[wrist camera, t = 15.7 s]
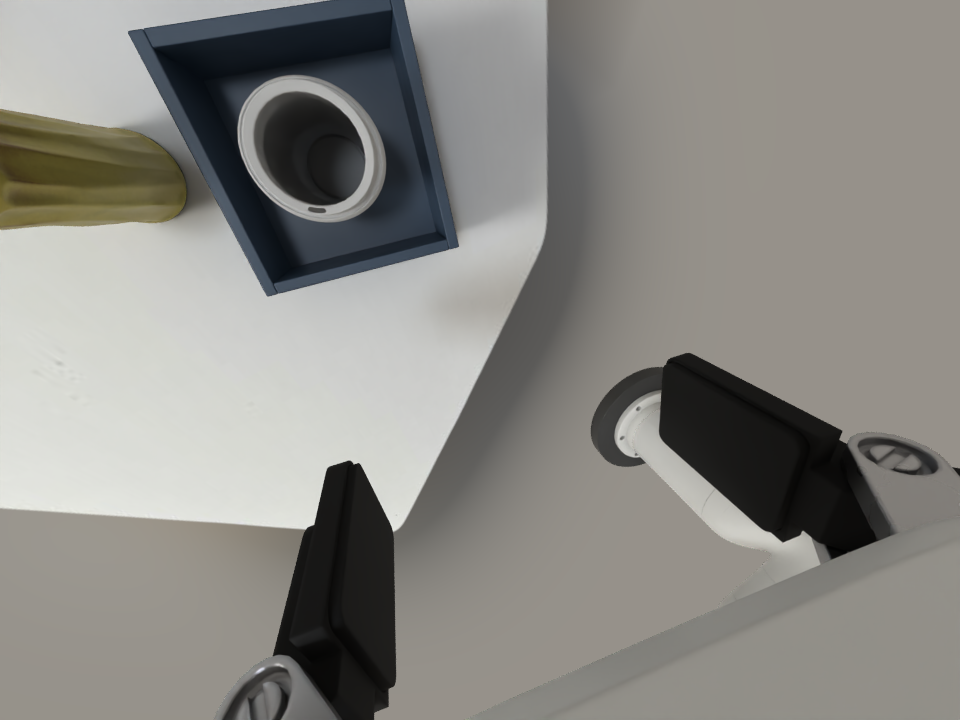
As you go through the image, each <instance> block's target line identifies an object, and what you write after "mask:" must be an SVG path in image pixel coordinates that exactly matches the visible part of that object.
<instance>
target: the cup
mask: <svg viewBox="0 0 960 720" xmlns="http://www.w3.org/2000/svg"><path fill="white" fill-rule="evenodd" d="M237 130H238V144H239V148H240V152H241V156H242V159H243V161H244V163H245V165H246V168H247V170H248V172H249V173H250V175H251V177H252V178H253V180H254V181H255V183H256V184H257V185H258V187H259V188H260V189H261V190H262V191H263V192H264V193H265V194H266V195H267V196H268V197H269V198H270V199H271V200H272V201H274V202H275V203H276V204H277V205H279V206H280V207H282V208H283V209H285V210H287V211H288V212H290V213H292V214H294V215H296V216H299V217H301V218H304V219H308V220H312V221H317V222H340V221H345V220H348V219H351V218H354V217H356V216H358V215H359V214H361V213H363V212H364V211H365V210H367V209H368V208H369V207H370V206H371V205H372V204H373V202H374V201H375V200H376V198H377V197H378V195H379V193H380V191H381V189H382V187H383V183H384V180H385V174H386V156H385V150H384V146H383V142H382V139H381V137H380V134H379V132H378V130H377V128H376V126H375V124H374V122H373V121H372V119H371V118H370V116H369V115H368V113H367V112H366V111H365V110H364V109H363V107H362V106H361V105H360V104H359V103H358V102H357V101H356V100H355V99H354V98H352V97H351V96H350V95H349V94H347V93H346V92H345V91H343V90H342V89H340V88H339V87H337V86H335V85H333V84H331V83H329V82H327V81H324V80H321V79H318V78H315V77H310V76H304V75H287V76H280V77H277V78H274V79H271V80H269V81H266V82H265V83H263V84H262V85H261V86H259V87H258V88H256V89H255V90H254V91H253V92H252V93H251V95H250V96H249V97H248V99H247V100H246V101H245V103H244V105H243V107H242V109H241V112H240V115H239V122H238V128H237Z"/></svg>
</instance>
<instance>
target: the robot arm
mask: <svg viewBox="0 0 960 720" xmlns="http://www.w3.org/2000/svg"><path fill="white" fill-rule="evenodd" d="M841 433H842V430H840V429H838V428H836V427H834V426H832V425H830V424H828V423H826V422H824V421H822V420H820V419H818V418H816V417H814V416H812V415H810V414H809V413H807V412H805V411H803V410H801V409H799V408H797V407H795V406H793V405H791V404H789V403H787V402H785V401H783V400H781V399H779V398H777V397H775V396H773V395H771V394H770V393H768V392H766V391H763V390H762V389H760V388H758V387H756V386H754V385H752V384H750V383H748V382H746V381H744V380H742V379H740V378H738V377H736V376H734V375H732V374H730V373H728V372H727V371H724V370H723V369H720V368H719V367H717V366H715V365H713V364H711V363H709V362H707V361H705V360H703V359H701V358H699V357H697V356H695V355H693V354H691V353H685V354H682V355H679V356H676V357H673V358H670V359H668V361H667V363H666V365H665V366H664V368H663V378H662V390H658V391H653V392H650V393H647V394H645V395H643V396H641V397H640V398H638V399H637V400H635V401H634V402H633V403H632V404H631V405H630V406H628V407H627V409H626V410H625V411H624V412H623V414H622V415H621V417H620V418H619V420H618V423H617V425H616V428H615V435H614V438H615V443H616V445H617V447H618V448H619V449H620V450H621V451H622V452H623V453H624V454H625V455H627V456H630V457H641V458H642V459H643V460H644V461H645V462H646V463H647V464H648V465H649V466H650V467H651V468H652V469H653V470H654V471H655V472H656V473H657V474H658V475H659V476H660V477H661V478H662V479H663V480H664V481H665V482H666V483H667V484H668V485H669V486H670V487H671V488H672V489H673V490H674V491H675V492H676V493H677V494H678V495H679V496H680V497H681V498H682V499H683V500H684V502H686V504H688V506H690V507H691V509H692V510H693V511H694V512H695V513H696V514H697V515H698V516H699V517H700V518H701V519H702V520H703V521H704V522H705V523H706V524H707V525H708V526H709V527H710V528H711V529H712V530H713V531H714V532H715V533H717V534H718V535H719V536H721V537H722V538H724V539H726V540H728V541H729V542H732V543H735V544H737V545H740V546H744V547H748V548H752V549H757V550H762V551H766V552H770V557H769V559H768V560H767V561H766V562H765V563H764V564H763V565H762V566H761V567H760V568H759V569H758V570H757V571H755V572H754V573H753V574H752V575H751V576H749V577H748V578H747V579H746V580H745V581H744V582H742V583H741V584H740V585H739V586H738V587H737V588H735V589H734V590H733V591H732V592H731V593H730V594H729V595H728V596H727V597H726V598H725V599H724V600H723V601H722V602H721V603H720V605H719V606H718V608H717V609H716V610H713V611H711V612H708V613H706V614H704V615H701V616H699V617H697V618H694V619H692V620H690V621H687V622H685V623H683V624H680V625H678V626H676V627H674V628H671V629H669V630H667V631H664V632H662V633H660V634H657V635H655V636H653V637H650V638H648V639H646V640H643V641H641V642H639V643H637V644H634V645H632V646H630V647H627V648H625V649H623V650H620V651H618V652H616V653H614V654H611V655H609V656H607V657H605V658H602V659H600V660H598V661H596V662H594V663H591V664H589V665H586V666H584V667H582V668H579V669H577V670H575V671H573V672H570V673H568V674H566V675H563V676H561V677H559V678H557V679H554V680H552V681H550V682H548V683H545V684H543V685H541V686H538V687H536V688H534V689H532V690H529V691H527V692H525V693H522V694H520V695H518V696H516V697H513V698H511V699H509V700H507V701H504V702H502V703H500V704H498V705H496V706H494V707H492V708H489V709H487V710H485V711H483V712H481V713H479V714H476V715H474V716H472V717H470V718H468V719H466V720H960V469H959V468H953V467H951V466H950V464H949V463H948V462H947V461H946V460H945V459H944V458H943V457H941V456H940V455H939V454H938V453H936V452H935V451H933V450H931V449H930V448H928V447H926V446H924V445H922V444H920V443H917V442H915V441H912V440H910V439H906V438H903V437H900V436H896V435H891V434H885V433H875V432H866V433H859V434H856V435H854V436H852V437H850V439H849V441H848V443H847V444H846V443H844V442H842V441H840V440H839V438H840V436H841ZM394 587H395V586H394V537H393V531H392V527H391V525H390V522H389V520H388V518H387V516H386V514H385V512H384V510H383V508H382V506H381V504H380V502H379V500H378V498H377V496H376V494H375V492H374V490H373V488H372V486H371V484H370V482H369V480H368V478H367V476H366V474H365V472H364V470H363V468H362V466H361V465H360V464H359V463H357V464H353V463H352V462H351V461H346V462H343V463H340V464H337V465H333V466H330V467H328V468H327V471H326V475H325V480H324V484H323V488H322V493H321V497H320V502H319V506H318V511H317V515H316V520H315V524H314V525H313V526H310V527H308V528H307V529H306V530H305V532H304V535H303V538H302V542H301V546H300V550H299V554H298V558H297V562H296V566H295V570H294V574H293V578H292V582H291V586H290V590H289V594H288V598H287V601H286V606H285V609H284V614H283V618H282V622H281V625H280V629H279V634H278V637H277V642H276V646H275V649H274V653H273V657H269V658H266V659H265V660H263V661H261V662H260V663H258V664H256V665H255V666H253V667H252V668H251V669H250V670H249V671H248V672H246V674H244V675H243V676H242V677H241V678H240V679H239V680H238V681H237V683H236V684H235V685H234V686H233V688H232V689H231V690H230V691H229V693H228V694H227V695H226V697H225V699H224V701H223V702H222V704H221V705H220V707H219V709H218V711H217V713H216V715H215V718H214V720H374V713H375V712H377V711H379V710H381V709H384V708H387V707H388V705H389V704H388V703H389V701H388V699H389V697H388V689H389V688H391V687H393V686H394V685H395V682H396V649H395V647H396V643H395V589H394Z"/></svg>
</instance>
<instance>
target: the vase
mask: <svg viewBox="0 0 960 720" xmlns="http://www.w3.org/2000/svg"><path fill="white" fill-rule="evenodd" d="M186 195H187V190H186V183H185V179H184V176H183V174H182V172H181V170H180V168H179V167H178V165H177V164H176V162H175V161H174V159H173V158H172V157H171V156H170V155H169V154H168V153H167V152H166V151H165V150H164V149H163V148H162V147H160V146H159V145H158V144H157V143H155V142H154V141H152V140H151V139H149V138H147V137H145V136H143V135H141V134H138V133H136V132H133V131H130V130H125V129H119V128H105V127H99V126H93V125H86V124H80V123H75V122H70V121H65V120H59V119H54V118H49V117H43V116H38V115H32V114H27V113H20V112H14V111H9V110H4V109H0V230H7V229H18V228H28V227H40V226H97V225H106V224H119V223H126V222H143V223H158V222H164V221H168V220H170V219H172V218H173V217H175V216H176V215H177V214H178V213H179V212H180V211H181V210H182V209H183V207H184V205H185V202H186Z"/></svg>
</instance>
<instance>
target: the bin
mask: <svg viewBox="0 0 960 720" xmlns="http://www.w3.org/2000/svg"><path fill="white" fill-rule="evenodd" d="M128 34H129V36H130V38H131V40H132V42H133V43H134V45H135V47H136V49H137V51H138V53H139V55H140V57H141V59H142V61H143V62H144V64H145V66H146V68H147V70H148V72H149V74H150V76H151V78H152V79H153V81H154V83H155V85H156V87H157V89H158V91H159V93H160V95H161V97H162V98H163V100H164V102H165V104H166V106H167V108H168V110H169V112H170V114H171V115H172V117H173V119H174V121H175V123H176V125H177V127H178V129H179V131H180V133H181V134H182V136H183V138H184V140H185V142H186V144H187V146H188V148H189V150H190V151H191V153H192V155H193V157H194V159H195V161H196V163H197V165H198V167H199V169H200V170H201V172H202V174H203V176H204V178H205V180H206V182H207V184H208V186H209V187H210V189H211V191H212V193H213V195H214V197H215V199H216V201H217V203H218V205H219V206H220V208H221V210H222V212H223V214H224V216H225V218H226V220H227V222H228V223H229V225H230V227H231V229H232V231H233V233H234V235H235V237H236V239H237V241H238V242H239V244H240V246H241V248H242V250H243V252H244V254H245V256H246V258H247V259H248V261H249V263H250V265H251V267H252V269H253V271H254V273H255V275H256V277H257V278H258V280H259V282H260V284H261V286H262V288H263V290H264V292H265V294H266V295H267V296H272V295H276V294H278V293H283V292H287V291H291V290H295V289H299V288H303V287H307V286H310V285H314V284H318V283H322V282H326V281H330V280H334V279H337V278H341V277H345V276H349V275H353V274H357V273H361V272H364V271H368V270H372V269H376V268H380V267H384V266H388V265H391V264H395V263H399V262H403V261H407V260H411V259H415V258H419V257H422V256H426V255H430V254H434V253H438V252H442V251H446V250H449V249H453V248H457V247H459V244H458V240H457V235H456V231H455V226H454V222H453V217H452V213H451V209H450V204H449V200H448V195H447V191H446V186H445V182H444V177H443V173H442V168H441V164H440V159H439V155H438V150H437V146H436V141H435V137H434V132H433V128H432V123H431V119H430V114H429V110H428V105H427V101H426V96H425V92H424V87H423V83H422V78H421V74H420V69H419V65H418V60H417V56H416V51H415V47H414V42H413V38H412V33H411V29H410V25H409V20H408V16H407V11H406V7H405V2H404V0H330V1H323V2H317V3H310V4H303V5H297V6H290V7H283V8H277V9H270V10H263V11H257V12H250V13H243V14H237V15H230V16H223V17H217V18H210V19H203V20H197V21H190V22H184V23H177V24H170V25H164V26H157V27H150V28H144V30H143V29H138V30H132V31H128ZM287 75H304V76H310V77H315V78H318V79H321V80H324V81H327V82H329V83H331V84H333V85H335V86H337V87H339V88H340V89H342V90H343V91H345V92H346V93H347V94H349V95H350V96H351V97H352V98H354V99H355V100H356V101H357V102H358V103H359V104H360V105H361V106H362V107H363V109H364V110H365V111H366V112H367V113H368V115H369V116H370V118H371V119H372V121H373V122H374V124H375V126H376V128H377V130H378V132H379V134H380V137H381V139H382V142H383V146H384V150H385V156H386V174H385V180H384V183H383V187H382V189H381V191H380V193H379V195H378V197H377V198H376V200H375V201H374V202H373V204H372V205H371V206H370V207H369V208H368V209H367V210H365V211H364V212H363V213H361V214H359V215H358V216H356V217H354V218H351V219H348V220H345V221H340V222H317V221H312V220H308V219H304V218H301V217H299V216H296V215H294V214H292V213H290V212H288V211H287V210H285V209H283V208H282V207H280V206H279V205H277V204H276V203H275V202H274V201H272V200H271V199H270V198H269V197H268V196H267V195H266V194H265V193H264V192H263V191H262V190H261V189H260V188H259V187H258V185H257V184H256V183H255V181H254V180H253V178H252V177H251V175H250V173H249V172H248V170H247V168H246V165H245V163H244V161H243V159H242V156H241V152H240V148H239V144H238V130H237V128H238V122H239V115H240V112H241V109H242V107H243V105H244V103H245V101H246V100H247V99H248V97H249V96H250V95H251V93H252V92H253V91H254V90H255V89H256V88H258V87H259V86H261V85H262V84H263V83H265V82H266V81H269V80H271V79H274V78H277V77H280V76H287Z"/></svg>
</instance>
